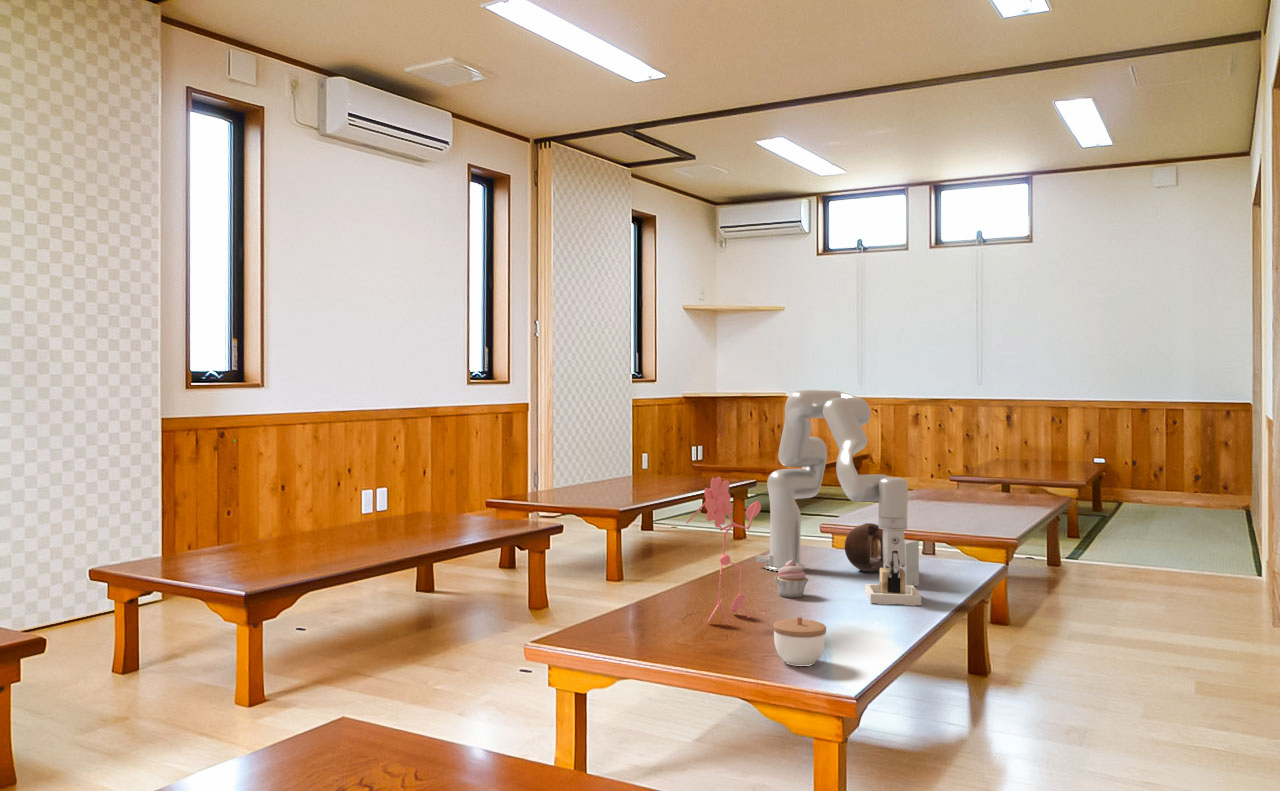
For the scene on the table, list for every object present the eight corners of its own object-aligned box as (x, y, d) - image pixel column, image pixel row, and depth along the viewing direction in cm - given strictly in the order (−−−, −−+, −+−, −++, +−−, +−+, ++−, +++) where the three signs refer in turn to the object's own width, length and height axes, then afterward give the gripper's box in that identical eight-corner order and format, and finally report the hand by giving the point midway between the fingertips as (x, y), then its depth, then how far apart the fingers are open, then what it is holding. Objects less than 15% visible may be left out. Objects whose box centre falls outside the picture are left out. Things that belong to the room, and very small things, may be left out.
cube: (882, 594, 247) (882, 571, 247) (879, 589, 253) (879, 567, 253) (905, 595, 246) (905, 572, 246) (902, 590, 252) (902, 568, 252)
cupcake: (793, 601, 246) (793, 563, 246) (767, 595, 254) (767, 558, 254) (815, 596, 252) (816, 560, 252) (789, 590, 260) (790, 555, 260)
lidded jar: (767, 667, 186) (768, 620, 186) (779, 653, 196) (779, 609, 196) (821, 673, 183) (821, 625, 183) (829, 658, 193) (830, 613, 193)
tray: (870, 603, 244) (870, 593, 244) (865, 593, 257) (865, 584, 257) (921, 605, 242) (921, 595, 242) (913, 595, 255) (913, 585, 255)
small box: (919, 586, 267) (919, 541, 267) (906, 588, 263) (906, 543, 263) (895, 581, 274) (895, 537, 274) (882, 584, 270) (882, 539, 269)
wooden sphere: (847, 565, 299) (847, 519, 299) (895, 568, 294) (895, 521, 294) (841, 573, 285) (841, 525, 285) (891, 577, 280) (892, 528, 280)
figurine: (770, 613, 232) (768, 474, 233) (712, 633, 212) (710, 481, 212) (719, 605, 242) (717, 472, 242) (659, 624, 222) (657, 479, 222)
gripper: (912, 528, 240) (911, 597, 240) (902, 519, 257) (901, 583, 257) (882, 527, 241) (881, 596, 241) (875, 518, 258) (874, 582, 258)
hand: (892, 589), depth 249 cm, fingers closed on cube, 5 cm apart
